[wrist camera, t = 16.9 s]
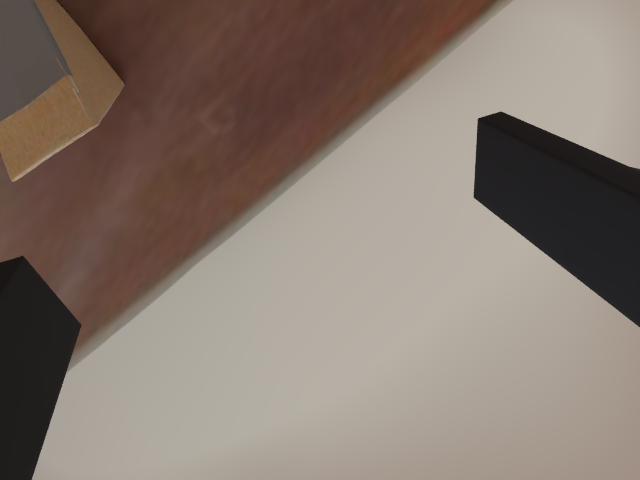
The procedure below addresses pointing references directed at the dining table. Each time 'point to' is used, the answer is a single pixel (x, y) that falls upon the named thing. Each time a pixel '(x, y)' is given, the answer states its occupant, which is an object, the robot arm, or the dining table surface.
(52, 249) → the dining table surface
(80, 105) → the sandwich container
